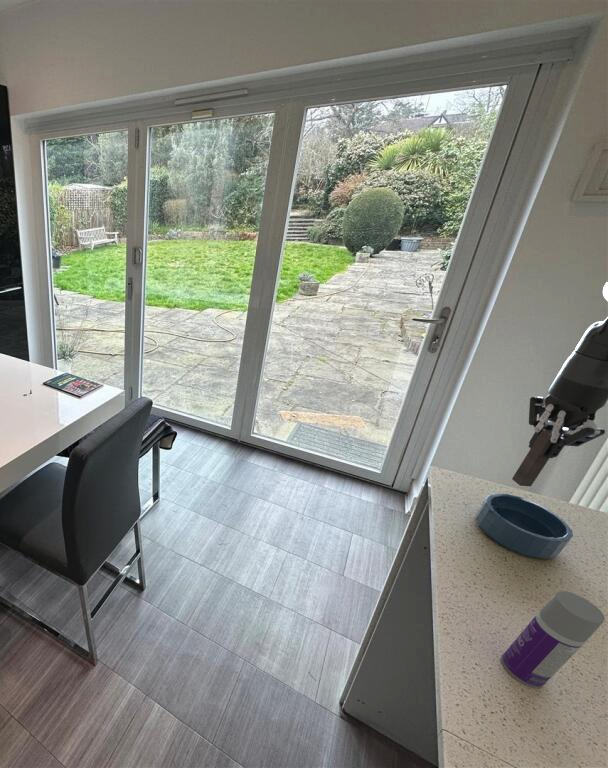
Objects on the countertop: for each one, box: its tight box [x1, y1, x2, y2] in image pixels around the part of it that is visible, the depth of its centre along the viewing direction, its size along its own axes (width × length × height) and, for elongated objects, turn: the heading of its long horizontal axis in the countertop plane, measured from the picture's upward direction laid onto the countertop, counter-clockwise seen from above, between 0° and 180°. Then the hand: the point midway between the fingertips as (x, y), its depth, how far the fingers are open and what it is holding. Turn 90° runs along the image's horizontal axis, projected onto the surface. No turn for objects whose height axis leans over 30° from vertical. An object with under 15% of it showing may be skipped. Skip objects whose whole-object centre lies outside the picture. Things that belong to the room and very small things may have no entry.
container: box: [500, 590, 606, 689], centre depth 57 cm, size 5×5×15 cm
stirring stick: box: [511, 429, 564, 487], centre depth 85 cm, size 2×2×13 cm
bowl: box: [475, 492, 574, 560], centre depth 82 cm, size 13×13×6 cm
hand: (540, 452), depth 84 cm, fingers closed on stirring stick, 2 cm apart
